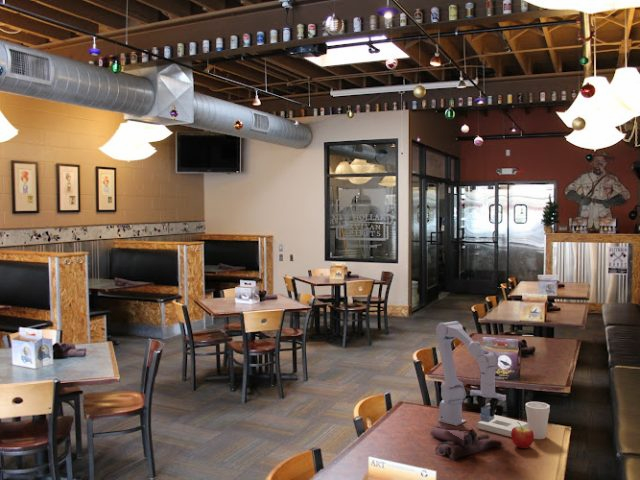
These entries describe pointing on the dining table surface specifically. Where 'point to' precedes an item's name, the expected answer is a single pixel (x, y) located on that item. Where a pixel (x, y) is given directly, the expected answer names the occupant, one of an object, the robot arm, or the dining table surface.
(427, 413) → the dining table surface
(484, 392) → the robot arm
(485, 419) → the servo
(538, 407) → the foam cup
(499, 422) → the chassis plate
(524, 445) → the apple
